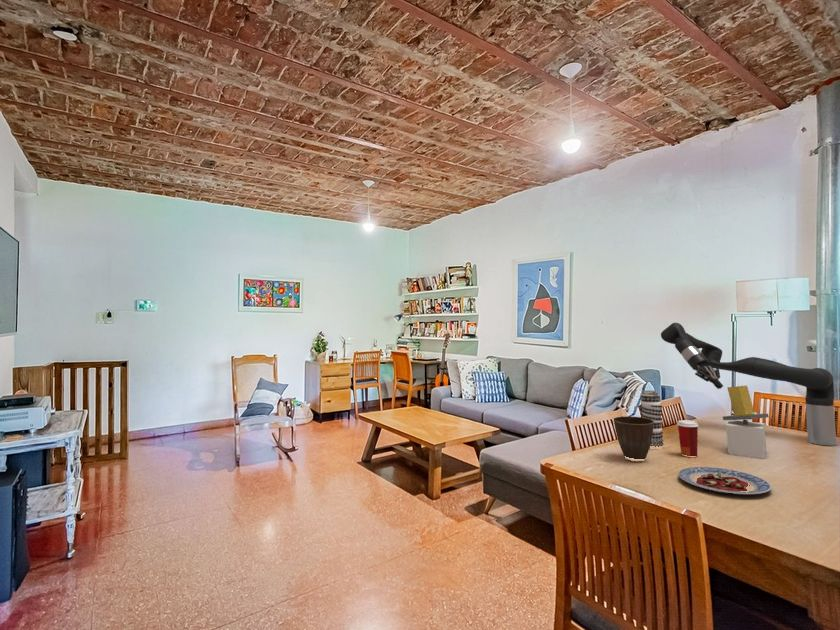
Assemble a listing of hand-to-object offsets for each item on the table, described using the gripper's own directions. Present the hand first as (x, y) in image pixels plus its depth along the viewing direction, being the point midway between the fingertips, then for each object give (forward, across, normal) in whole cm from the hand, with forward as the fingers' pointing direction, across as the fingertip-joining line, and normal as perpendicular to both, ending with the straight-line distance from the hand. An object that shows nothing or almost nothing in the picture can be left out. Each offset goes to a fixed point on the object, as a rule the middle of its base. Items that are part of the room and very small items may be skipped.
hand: (720, 387), depth 190 cm
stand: (+26, -1, -11) cm, 28 cm away
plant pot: (+18, +48, -19) cm, 54 cm away
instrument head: (+15, -1, -1) cm, 15 cm away
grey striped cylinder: (+10, +26, -28) cm, 40 cm away
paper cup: (+21, +24, -16) cm, 36 cm away
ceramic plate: (+42, +43, +5) cm, 60 cm away
